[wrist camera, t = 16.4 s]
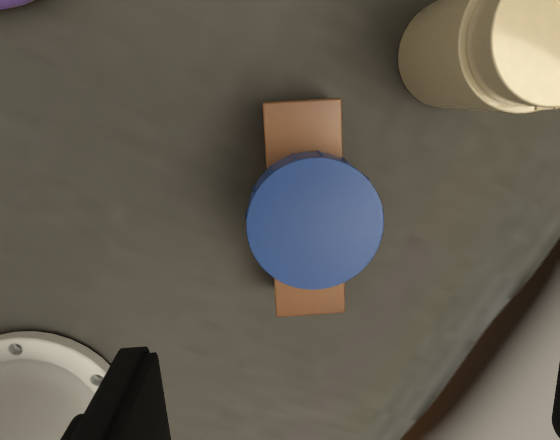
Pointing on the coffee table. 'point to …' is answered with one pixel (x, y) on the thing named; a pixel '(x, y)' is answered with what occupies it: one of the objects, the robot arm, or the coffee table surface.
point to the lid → (314, 220)
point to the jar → (484, 55)
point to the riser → (295, 139)
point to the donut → (13, 3)
